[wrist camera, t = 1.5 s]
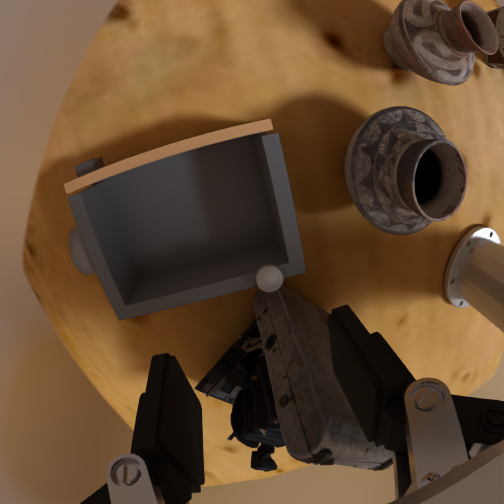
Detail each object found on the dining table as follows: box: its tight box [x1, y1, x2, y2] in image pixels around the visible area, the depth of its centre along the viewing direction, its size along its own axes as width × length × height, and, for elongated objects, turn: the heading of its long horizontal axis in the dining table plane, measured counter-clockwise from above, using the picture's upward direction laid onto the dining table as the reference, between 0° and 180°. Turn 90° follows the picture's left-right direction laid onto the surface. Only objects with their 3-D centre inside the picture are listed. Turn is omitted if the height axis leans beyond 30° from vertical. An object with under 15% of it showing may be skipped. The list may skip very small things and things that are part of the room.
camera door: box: [64, 119, 273, 194], centre depth 21 cm, size 16×2×5 cm, turn 103°
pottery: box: [344, 0, 498, 235], centre depth 20 cm, size 11×25×12 cm, turn 163°
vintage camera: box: [195, 284, 393, 472], centre depth 25 cm, size 10×16×20 cm, turn 143°
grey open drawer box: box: [68, 132, 306, 321], centre depth 24 cm, size 18×12×7 cm
